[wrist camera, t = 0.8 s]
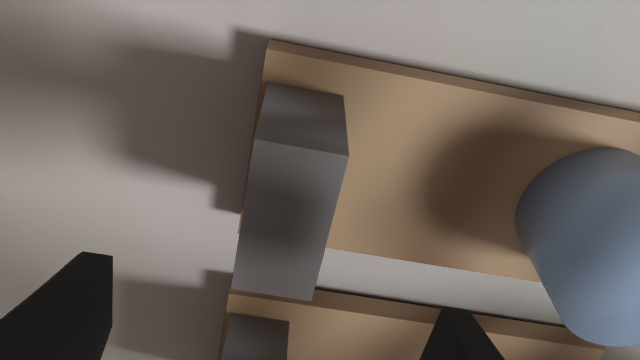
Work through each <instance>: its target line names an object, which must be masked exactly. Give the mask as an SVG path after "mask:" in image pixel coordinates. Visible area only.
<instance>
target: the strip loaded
mask: <svg viewBox="0 0 640 360" xmlns="http://www.w3.org/2000/svg"><path fill="white" fill-rule="evenodd" d="M599 147H612V148H620V149H624V150H628V151H630V152H633V153H635V154H637V155H639V156H640V113H637V112H632V111H627V110H622V109H617V108H612V107H607V106H602V105H597V104H592V103H587V102H582V101H577V100H572V99H567V98H562V97H557V96H552V95H547V94H542V93H537V92H532V91H527V90H522V89H517V88H512V87H507V86H502V85H497V84H492V83H487V82H482V81H477V80H472V79H467V78H462V77H457V76H452V75H447V74H442V73H436V72H431V71H426V70H421V69H416V68H411V67H406V66H401V65H396V64H391V63H386V62H381V61H376V60H371V59H366V58H361V57H356V56H351V55H346V54H341V53H336V52H331V51H326V50H321V49H316V48H311V47H306V46H301V45H296V44H291V43H286V42H281V41H276V40H271V39H269V41H268V45H267V48H266V54H265V61H264V67H263V74H262V80H261V87H260V93H259V100H258V106H257V113H256V119H255V126H254V132H253V139H252V145H251V152H250V158H249V165H248V171H247V178H246V184H245V191H244V197H243V204H242V210H241V217H240V223H239V230H238V233H239V240H238V247H237V253H236V259H235V266H234V272H233V279H232V285H231V289H233V290H240V291H246V292H253V293H260V294H266V295H273V296H279V297H286V298H293V299H299V300H306V301H312V297H313V293H314V289H315V285H316V281H317V278H318V274H319V270H320V266H321V262H322V259H323V255H324V251H325V248H332V249H338V250H344V251H350V252H356V253H363V254H369V255H375V256H381V257H387V258H393V259H400V260H406V261H412V262H418V263H424V264H431V265H437V266H443V267H449V268H455V269H461V270H468V271H474V272H480V273H486V274H492V275H499V276H505V277H511V278H517V279H523V280H529V281H536V282H541V280H540V278H539V276H538V274H537V272H536V270H535V268H534V266H533V264H532V262H531V261H530V259H529V257H528V255H527V253H526V251H525V249H524V247H523V245H522V243H521V241H520V239H519V237H518V235H517V232H516V228H515V213H516V208H517V205H518V202H519V199H520V197H521V195H522V194H523V192H524V190H525V189H526V187H527V186H528V185H529V183H530V182H531V181H532V180H533V179H534V178H535V177H536V176H537V175H538V174H539V173H540V172H541V171H542V170H543V169H545V168H546V167H548V166H549V165H550V164H552V163H553V162H555V161H557V160H559V159H561V158H563V157H565V156H567V155H569V154H572V153H575V152H578V151H581V150H586V149H590V148H599Z"/></svg>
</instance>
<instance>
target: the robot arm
mask: <svg viewBox="0 0 640 360" xmlns="http://www.w3.org/2000/svg"><path fill="white" fill-rule="evenodd" d="M112 288H113V256H109V255H103V254H96V253H90V252H81V253H80V254H78V255H77V256H76V257H75V258H73V259H72V260H71V261H70V262H69V263H68V264H67V265H65V266H64V267H63V268H62V269H61V270H60V271H59V272H57V273H56V274H55V275H54V276H53V277H52V278H50V279H49V280H48V281H47V282H46V283H45V284H43V285H42V286H41V287H40V288H39V289H37V290H36V291H35V292H34V293H33V294H31V295H30V296H29V297H28V298H27V299H25V300H24V301H23V302H22V303H20V304H19V305H18V306H17V307H15V308H14V309H13V310H12V311H10V312H9V313H8V314H7V315H5V316H4V317H3V318H2V319H0V360H100V359H101V356H102V354H103V351H104V348H105V345H106V342H107V339H108V336H109V333H110V331H111V328H112ZM419 360H505V359H504V357H503V356H502V355H501V353H500V352H499V351H498V349H497V348H496V347H495V345H494V344H493V342H492V341H491V340H490V338H489V337H488V336H487V334H486V333H485V331H484V330H483V329H482V327H481V326H480V325H479V323H478V322H477V321H476V319H475V318H474V317H473V315H472V314H471V313H470V311H469V310H464V309H457V308H451V307H444V306H442V309H441V311H440V313H439V316H438V318H437V320H436V322H435V325H434V327H433V329H432V332H431V334H430V336H429V339H428V341H427V343H426V346H425V348H424V350H423V353H422V355H421V357H420V359H419Z"/></svg>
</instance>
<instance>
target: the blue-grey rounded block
mask: <svg viewBox="0 0 640 360" xmlns="http://www.w3.org/2000/svg"><path fill="white" fill-rule="evenodd" d="M515 228H516V232H517V235H518V237H519V239H520V241H521V243H522V245H523V247H524V249H525V251H526V253H527V255H528V257H529V259H530V261H531V262H532V264H533V266H534V268H535V270H536V272H537V274H538V276H539V278H540V280H541V282H542V284H543V285H544V287H545V289H546V291H547V293H548V295H549V297H550V299H551V301H552V303H553V305H554V307H555V308H556V310H557V312H558V314H559V316H560V318H561V320H562V322H563V323H564V324H565V326H566V327H567V328H568V329H569V330H570V331H571V332H572V333H574V334H575V335H577V336H578V337H580V338H582V339H584V340H586V341H589V342H592V343H595V344H599V345H604V346H613V347H627V346H637V345H640V156H639V155H637V154H635V153H633V152H630V151H628V150H624V149H620V148H612V147H599V148H590V149H586V150H581V151H578V152H575V153H572V154H569V155H567V156H565V157H563V158H561V159H559V160H557V161H555V162H553V163H552V164H550V165H549V166H548V167H546V168H545V169H543V170H542V171H541V172H540V173H539V174H538V175H537V176H536V177H535V178H534V179H533V180H532V181H531V182H530V183H529V185H528V186H527V187H526V189H525V190H524V192H523V194H522V195H521V197H520V199H519V202H518V205H517V208H516V213H515Z"/></svg>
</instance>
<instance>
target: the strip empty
mask: <svg viewBox="0 0 640 360" xmlns="http://www.w3.org/2000/svg"><path fill="white" fill-rule="evenodd" d="M232 279H233V277H232ZM231 285H232V280H231ZM231 285H230V289H229V294H228V301H227V307H226V314H225V320H224V327H223V333H222V340H221V346H220V353H219V359H218V360H419V359H420V357H421V355H422V353H423V350H424V348H425V346H426V343H427V341H428V339H429V336H430V334H431V332H432V329H433V327H434V325H435V322H436V320H437V318H438V316H439V313H440V311H441V309H439V308H433V307H426V306H420V305H413V304H407V303H400V302H394V301H387V300H381V299H374V298H368V297H361V296H355V295H348V294H342V293H335V292H329V291H322V290H316V289H314V293H313V297H312V301H306V300H299V299H293V298H286V297H279V296H273V295H266V294H260V293H253V292H246V291H240V290H233V289H231ZM471 314H472V313H471ZM472 315H473V317H474V318H475V319H476V321H477V322H478V323H479V325H480V326H481V327H482V329H483V330H484V331H485V333H486V334H487V336H488V337H489V338H490V340H491V341H492V342H493V344H494V345H495V347H496V348H497V349H498V351H499V352H500V353H501V355H502V356H503V357H504V359H505V360H599V359H600V358H601V357H602V355H603V354H604V352H605V351H606V350H605V348H604V347H603V345H599V344H595V343H592V342H589V341H586V340H584V339H582V338H580V337H578V336H577V335H575V334H574V333H572V332H571V331H570V330H569V329H568V328H563V327H557V326H550V325H544V324H537V323H531V322H524V321H517V320H511V319H504V318H498V317H491V316H485V315H478V314H472Z"/></svg>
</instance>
